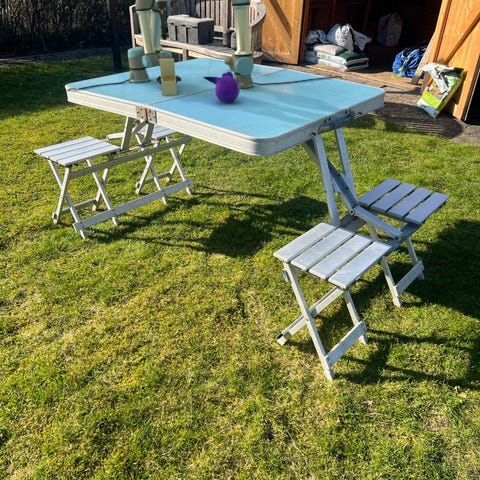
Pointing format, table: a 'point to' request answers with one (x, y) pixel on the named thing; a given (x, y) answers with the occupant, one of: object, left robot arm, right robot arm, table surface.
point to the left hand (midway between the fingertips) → (168, 82)
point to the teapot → (230, 62)
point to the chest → (169, 86)
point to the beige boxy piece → (167, 66)
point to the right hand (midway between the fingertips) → (164, 38)
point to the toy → (225, 87)
